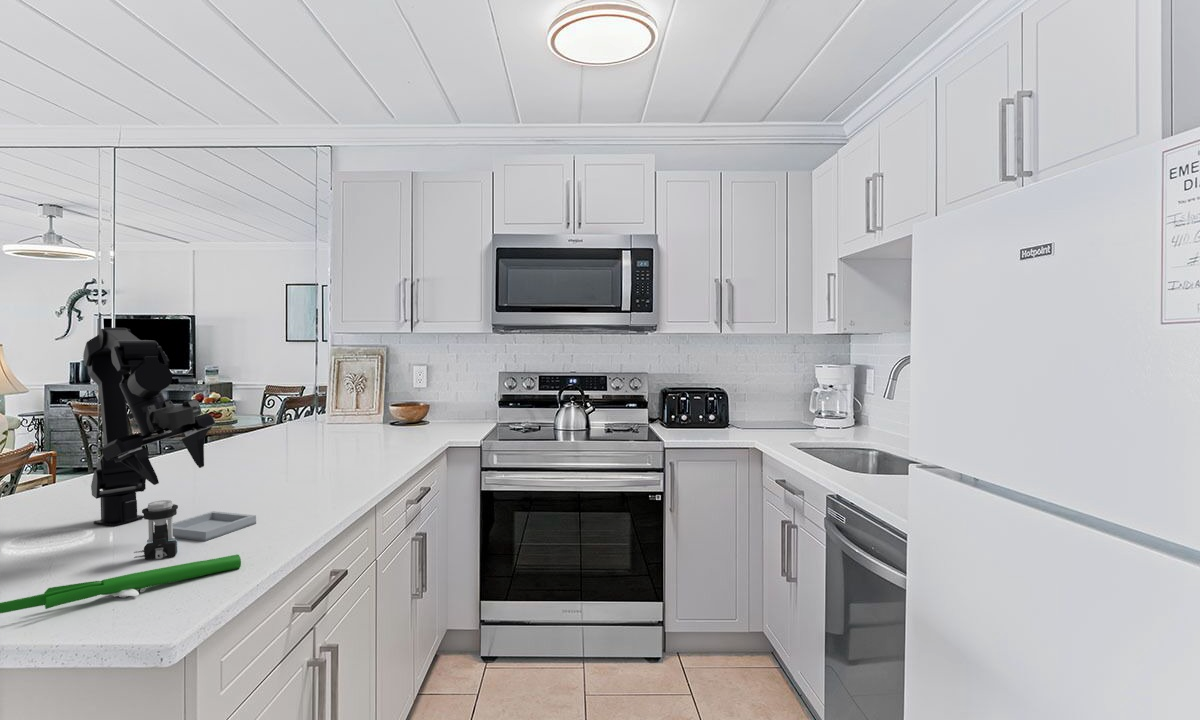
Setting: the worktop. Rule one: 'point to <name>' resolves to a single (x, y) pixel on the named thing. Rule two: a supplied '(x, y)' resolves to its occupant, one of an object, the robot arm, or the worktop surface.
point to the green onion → (123, 584)
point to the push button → (160, 530)
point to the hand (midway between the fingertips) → (180, 475)
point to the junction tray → (211, 525)
